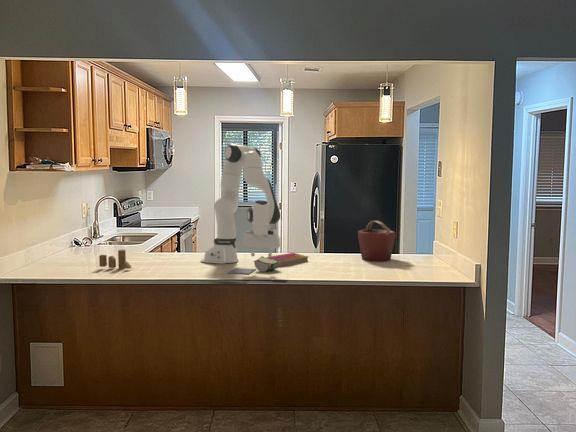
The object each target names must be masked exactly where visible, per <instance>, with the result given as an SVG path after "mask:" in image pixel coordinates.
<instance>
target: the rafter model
mask: <svg viewBox="0 0 576 432" xmlns="http://www.w3.org/2000/svg"><path fill="white" fill-rule="evenodd" d="M265 258H270V259H273V260H276V261H280V263H279V265H278V267H277V268H282V267H284V266H285V267H288V265H289V266H293V265H298V264H301V263H306V262H308V258H309V256H308V255H303V254H299V253H295V252H290V253H285V254H278V255H272V257H268V256H267V257H265ZM256 260H257V259H256ZM256 260H254V261H256Z"/></svg>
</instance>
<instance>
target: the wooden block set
mask: <svg viewBox="0 0 576 432" xmlns="http://www.w3.org/2000/svg"><path fill="white" fill-rule="evenodd" d="M117 253H118V254H117V256H118V257H117V258H118V260H116V258H115V256H114V255H109V256H107V254H100V255H99V256H98V258H99V259H98V261H99V267H100V268H105V267H107V265H108V269H114V268H116V267H117V263H118V269H119V270H125V269H132V265H131V264H130V263H129V262H128V261H127V260H126V258H127V257H126V256H127V255H126V254H127V253H126V249H118V251H117ZM107 257H108V258H107ZM107 259H108V261H107ZM116 262H117V263H116Z"/></svg>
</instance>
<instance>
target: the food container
mask: <svg viewBox="0 0 576 432" xmlns="http://www.w3.org/2000/svg"><path fill="white" fill-rule="evenodd" d="M253 263H254V268H255V269H256V270H258V271H259V272H260V273H266V272H267V271H273V270H275V269H277V268H279V267H278V265H279V263H280V261H276V260H273V259H270V258H266V257H264V255H261V256H259V258H257V259H256V261H255V260H253Z"/></svg>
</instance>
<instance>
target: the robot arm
mask: <svg viewBox="0 0 576 432" xmlns="http://www.w3.org/2000/svg"><path fill="white" fill-rule="evenodd" d="M224 158H225V162H224V165H223V169H222V174H221V175H222V176H221V180H220V181H221V182H220V197H219V198H218V199H216V201H215V202H214V205H213V210H214V213H215V220H216V230H217V231H216V238H215V239H213V243H214V244H212V245H211V246H210V247H209V248H208V249H206V250H205V251H204V252H205V253H204V257H202V258H201V259H200V263H206V264H207V263H208V264H220V265H222V264H233V263H237V262H239V259H238V253H237V245H238V243H237V242H238V241H237V236H236V235H237V234H236V233H237V230H236V227H237V226H236V220H235V216H234V213H236V212H237V210H238V207H239V198H240V197H239V193H240V184H241V178H242V175H243V180H244V181H245V183H246V184H247V185H249V186H251V187H252V188H256V189H258V190H260V191H262V192H263V193H264V194H265V197H266V201H265V200H256V201H254V202H253V205H252V206H249V208H248V209H247V210H246V220H247V221H248V222H249V223H251V224H252V230H245V231H243V232H242V247H243V248H244V249H248V250H249V252H250V255H251V256H250V257H255V255H256V254H255V252H254V251H253V249H269V251H270V252H269V253H268V254H267V255H268V256H267V257H272V256H273V252H274V249H275V250H277V249H280V247H281V239H280V236H279V230H278V229H275V228H272V227H270V224H271V225H275V224H277V223H278V222H279V221H280V219H281V212H280V211H281V210H280V209H279V206H278V203H277V199H276V197H275V191H274V190H273V186H272V182H271V181H270V179H268V178H267V177H266V175H265V174H264V171H263V170H264V169H263V164H262V163H263V162H262V154H261V151H260V150H259V149H258V148H257V147H252V146H248V145H244V144H236V143H235V144H234V143H232V144H231V143H230V144H228V145H227V146H226V148H225V150H224ZM242 172H243V174H242Z"/></svg>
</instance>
